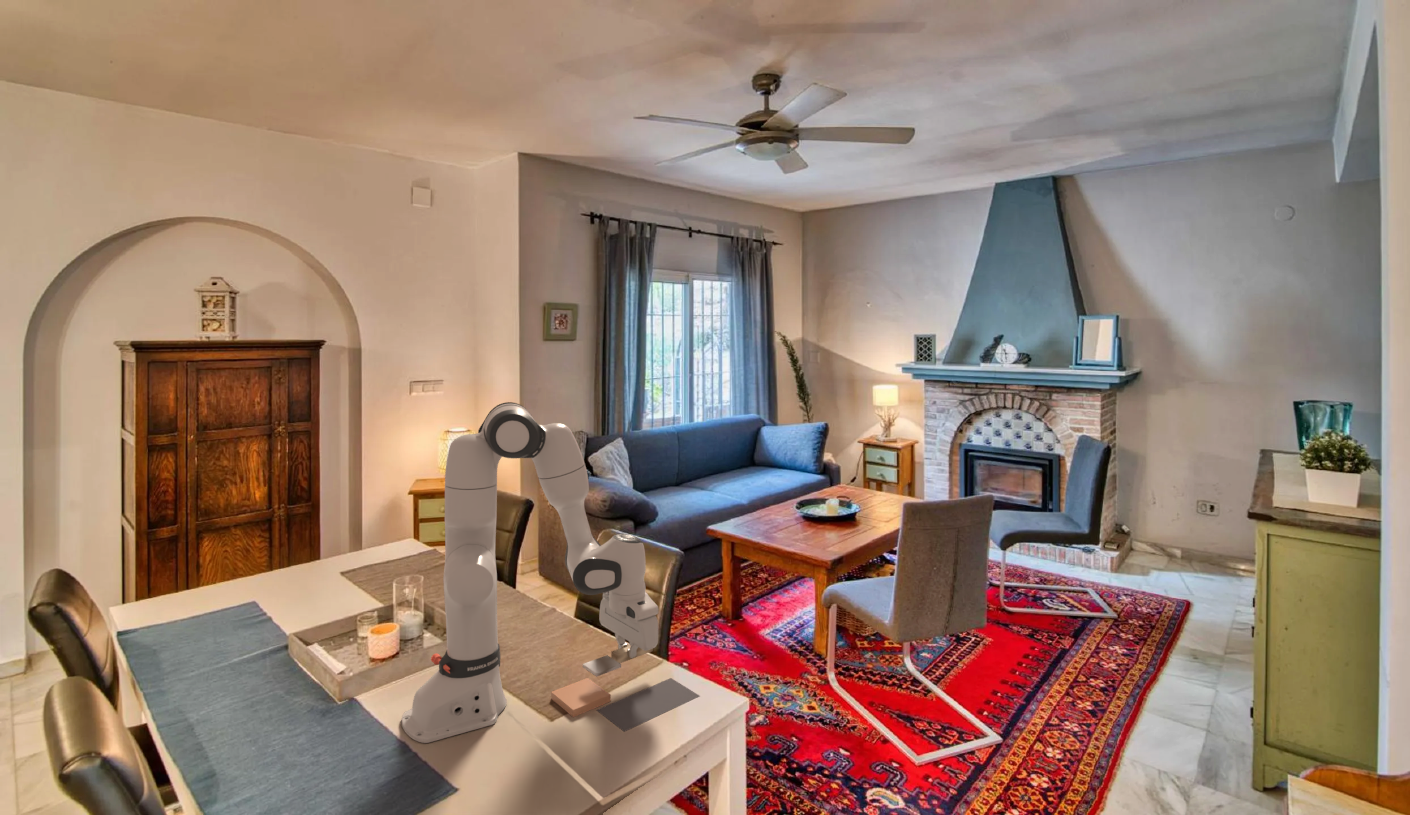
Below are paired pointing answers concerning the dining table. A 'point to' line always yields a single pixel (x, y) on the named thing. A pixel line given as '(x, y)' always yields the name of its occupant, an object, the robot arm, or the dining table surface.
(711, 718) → the dining table surface
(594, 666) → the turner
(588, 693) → the tile
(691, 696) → the mat
